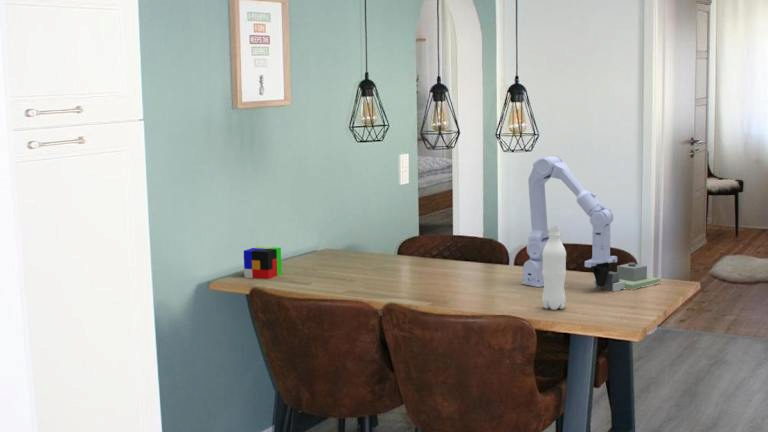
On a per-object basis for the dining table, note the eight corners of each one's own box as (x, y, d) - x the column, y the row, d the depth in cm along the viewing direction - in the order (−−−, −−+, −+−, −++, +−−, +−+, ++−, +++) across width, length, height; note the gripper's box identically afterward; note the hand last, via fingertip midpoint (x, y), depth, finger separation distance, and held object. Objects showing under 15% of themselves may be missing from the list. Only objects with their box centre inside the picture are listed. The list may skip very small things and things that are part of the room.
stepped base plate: (621, 292, 312) (621, 271, 311) (589, 286, 322) (589, 265, 321) (660, 283, 325) (660, 262, 324) (628, 278, 335) (629, 258, 334)
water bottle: (551, 311, 287) (552, 229, 283) (537, 307, 293) (537, 226, 290) (570, 308, 290) (571, 227, 287) (556, 304, 296) (556, 224, 293)
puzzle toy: (244, 277, 349) (243, 250, 348) (258, 272, 359) (257, 246, 357) (268, 279, 346) (267, 251, 344) (281, 274, 355) (280, 247, 354)
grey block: (611, 290, 316) (611, 274, 315) (599, 288, 319) (599, 272, 319) (619, 288, 318) (619, 272, 317) (606, 286, 322) (607, 270, 321)
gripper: (597, 249, 307) (596, 291, 308) (624, 244, 316) (624, 284, 317) (579, 247, 312) (579, 287, 314) (607, 242, 321) (607, 281, 323)
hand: (600, 286), depth 316 cm, fingers closed
